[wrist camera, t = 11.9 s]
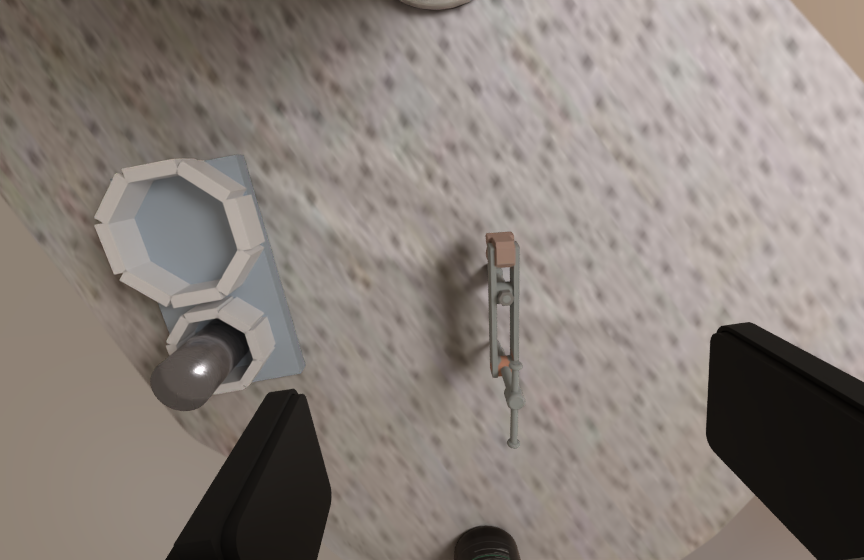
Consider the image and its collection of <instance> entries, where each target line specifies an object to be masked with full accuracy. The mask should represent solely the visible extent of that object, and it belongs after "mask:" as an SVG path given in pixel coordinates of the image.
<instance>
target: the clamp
mask: <svg viewBox="0 0 864 560" xmlns="http://www.w3.org/2000/svg"><path fill="white" fill-rule="evenodd" d="M486 244H487V249H486V257H487V260H488V265H487V272H488V293H489V340H490V369H491V373H492V377H493V378H498V376H502V377H503V380H504V383H505V386H506V389H505V391H504V395H505V398H506V401H507V405H508V407H509V408H510V409H511V427H510V439H508V441H507V444H508V446H509V447H510V448H514V449H515V448H518V447H519V446H520V441H519V440H518V439H517V431H518V410H519V409H521V408H522V407H523V406H524V405H525V398H524V395H523V393H522V390H521V388H520V387H519V370H521V369H522V367H523V365H522V363H521V362H519V259H520V247H519V245H518V243H517V242H516V241H514V235H513V233H512V232H499V233H486ZM503 267H510V282H505V280H504V279H503V271H502V269H501V268H503ZM497 304H502V306H508V305H510V355H508V356H505V353H504V350H503V348H502V347H501V346H500V343H499V341H498V340H497Z"/></svg>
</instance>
